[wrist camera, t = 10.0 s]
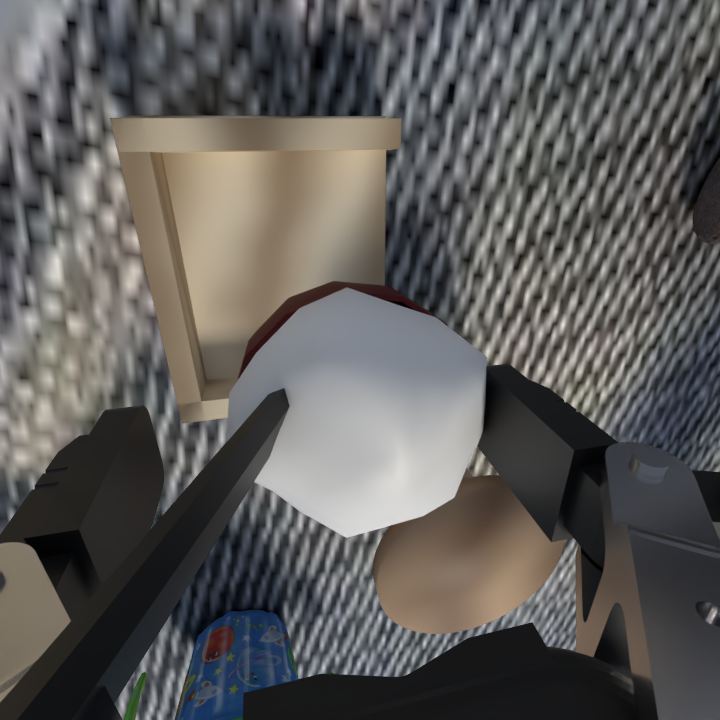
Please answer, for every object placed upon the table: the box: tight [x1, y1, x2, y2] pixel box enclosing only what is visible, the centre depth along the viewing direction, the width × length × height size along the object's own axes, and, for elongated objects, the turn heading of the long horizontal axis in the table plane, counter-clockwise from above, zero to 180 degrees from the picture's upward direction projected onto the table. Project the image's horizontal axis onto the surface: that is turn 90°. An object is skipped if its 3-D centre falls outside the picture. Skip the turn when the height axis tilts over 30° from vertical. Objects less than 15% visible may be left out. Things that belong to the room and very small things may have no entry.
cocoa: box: [0, 281, 487, 720], centre depth 9 cm, size 10×6×12 cm, turn 46°
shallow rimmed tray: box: [110, 116, 401, 423], centre depth 22 cm, size 12×15×3 cm
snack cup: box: [124, 610, 334, 720], centre depth 31 cm, size 16×10×10 cm
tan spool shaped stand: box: [373, 468, 565, 634], centre depth 26 cm, size 10×10×11 cm
